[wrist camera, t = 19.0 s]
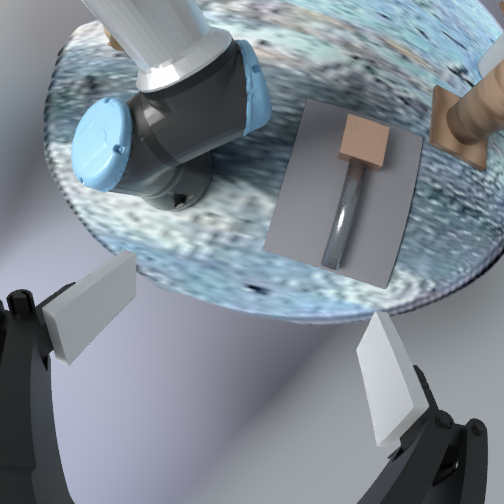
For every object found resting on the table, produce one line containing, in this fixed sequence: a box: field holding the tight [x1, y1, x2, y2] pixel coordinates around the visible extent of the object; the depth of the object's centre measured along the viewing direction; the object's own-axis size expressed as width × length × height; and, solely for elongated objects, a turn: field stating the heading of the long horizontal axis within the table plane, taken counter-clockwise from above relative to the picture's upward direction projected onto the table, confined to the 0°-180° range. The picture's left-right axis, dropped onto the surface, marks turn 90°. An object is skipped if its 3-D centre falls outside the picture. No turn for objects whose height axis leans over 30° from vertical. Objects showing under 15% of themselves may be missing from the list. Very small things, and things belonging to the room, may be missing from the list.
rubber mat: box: [263, 98, 423, 289], centre depth 42 cm, size 22×28×1 cm
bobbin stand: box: [428, 1, 504, 171], centre depth 22 cm, size 13×13×30 cm
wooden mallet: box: [321, 114, 389, 270], centre depth 40 cm, size 24×7×4 cm, turn 164°
